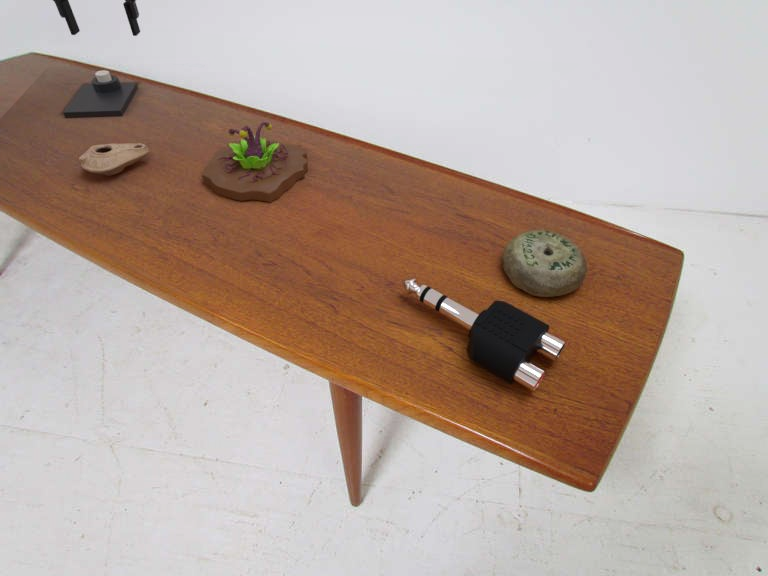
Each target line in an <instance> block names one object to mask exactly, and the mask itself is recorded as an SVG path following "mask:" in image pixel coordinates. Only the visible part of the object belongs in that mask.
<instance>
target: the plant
mask: <svg viewBox="0 0 768 576" xmlns="http://www.w3.org/2000/svg"><path fill="white" fill-rule="evenodd" d="M264 126H265V129H266V130H268V131H271V130H272V129H273V125H272V124H271V123H270V122H267V121H263V122H260V124H259V125H258V127H257V129H256V131H255V135H254V133H253V131H252V129H251V128H250V127H249V126H248V125H245V126H242V128H241V129H240V130H238V129H234V128H229V129H228V130H227V134H228V136H231V137H234V136H235V135H236V134H237V135H239V137H240V138H241V139H240V140H236V141H232V142H229V143H228V146H227V147H225V148H222V149H219V150H217V151H216V152H215V153H214V154H213V156H212V157H211V159H210V160H209V161H208V162H207V163H206V165H205V166H204V169H203V170H202V172H201V176H202V179H203V184H204V185H206V186H207V187H210V188H211V189H212V190H213V191H214V193H216V195H217V194H218V195H219V196H221V197H224V198H228V199H232V200H235V201H238V202H245V201H260V202H266V203H272V202H274V201H276V200H277V199H279V198H280V197H281V196H282V195H283V194H284V193H285V192H287V191H289V190H291V188H292V187H293V186H294V185H295V184H296V183H297V182H298V181H299V180H301V179H304V178H305V174H306V173H307V172H308V171H309V164H308V153H307V151H306V150H305V149H304V148H302V147H300V146H298V145H295V144H291V143H285V142H282V141H278V140H271V139H266V137H261V130H262V128H263V127H264Z"/></svg>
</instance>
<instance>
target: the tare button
mask: <svg viewBox="0 0 768 576" xmlns="http://www.w3.org/2000/svg"><path fill="white" fill-rule="evenodd" d="M94 75H95V77H97V80H98V82H100V83H105V82H109V81H111V80H112V78H111V76H110V75H111V73H110V71H109V70H106V69H103V70H98V71H96V72H95V73H94Z"/></svg>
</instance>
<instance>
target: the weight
mask: <svg viewBox="0 0 768 576" xmlns="http://www.w3.org/2000/svg"><path fill="white" fill-rule="evenodd" d="M501 265H502V268H503V270H504V272H505V274H506V276H507V277H508V278H509V280H510V282H511V283H512V284H513V286H514V287H516V288H517V289H520V290H522V291H524V292H525V293H527V294H529V295H531V296H535V297H539V298H554V297H560V296H564V295H567V294H570V293H572V292H574V291H576V290H577V289H578V288H579V287H580V286H581V285H583V282H584V279H585V278H586V276H587V271H588V263H587V260H586V257H585V255H584V253H583V251H582V250H581V249H580V247H579V246H578V245H577V244H576V243H575V242H574V241H572V240H571V239H570V238H568V237H567V236H564V235H563V234H560V233H558V232H554V231H551V230H546V229H534V230H527V231H524V232H521V233H520V234H518V235H516V236H514V237H513V238H512V239H511V240H510V241H509V242H508V243H507V244H506V246H505V248H504V249H503V253H502V257H501Z"/></svg>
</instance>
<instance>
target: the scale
mask: <svg viewBox="0 0 768 576" xmlns="http://www.w3.org/2000/svg"><path fill="white" fill-rule="evenodd" d="M110 76H111V78H112V80H111V81H109V82H105V83H100V82H98V80H97V77H96V76H95V77H93V78H92V79H91V81H90V82H91V83H84V84H83V85H82V86H81V88H79V90H78V91H77V93H76V94H75V95H74V97H73V98H72V100H71V101H70V102H69V104H68V105H67V106H66V108H65V109H64V110H63V111H62V114H63V116H64V118H65V119H80V118H81V119H82V118H83V119H84V118H110V117H111V118H112V117H115V118H116V117H124V115H125V112H126V111H127V110H128V108H129V106H130V103H131V102H132V100H133V98H134V97H135V95H136V93H137V91H138V89H139V86H138V83H137V82H120V78H119V77H118V76H117V75H115V74H110Z"/></svg>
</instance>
